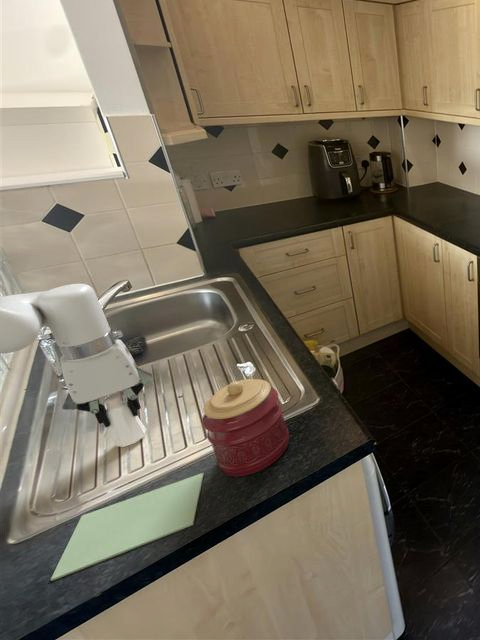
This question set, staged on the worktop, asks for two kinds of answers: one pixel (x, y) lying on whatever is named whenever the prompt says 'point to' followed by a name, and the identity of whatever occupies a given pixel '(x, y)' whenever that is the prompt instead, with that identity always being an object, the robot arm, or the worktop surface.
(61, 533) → the worktop surface
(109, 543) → the mat
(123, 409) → the pepper shaker
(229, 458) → the kitchen canister
